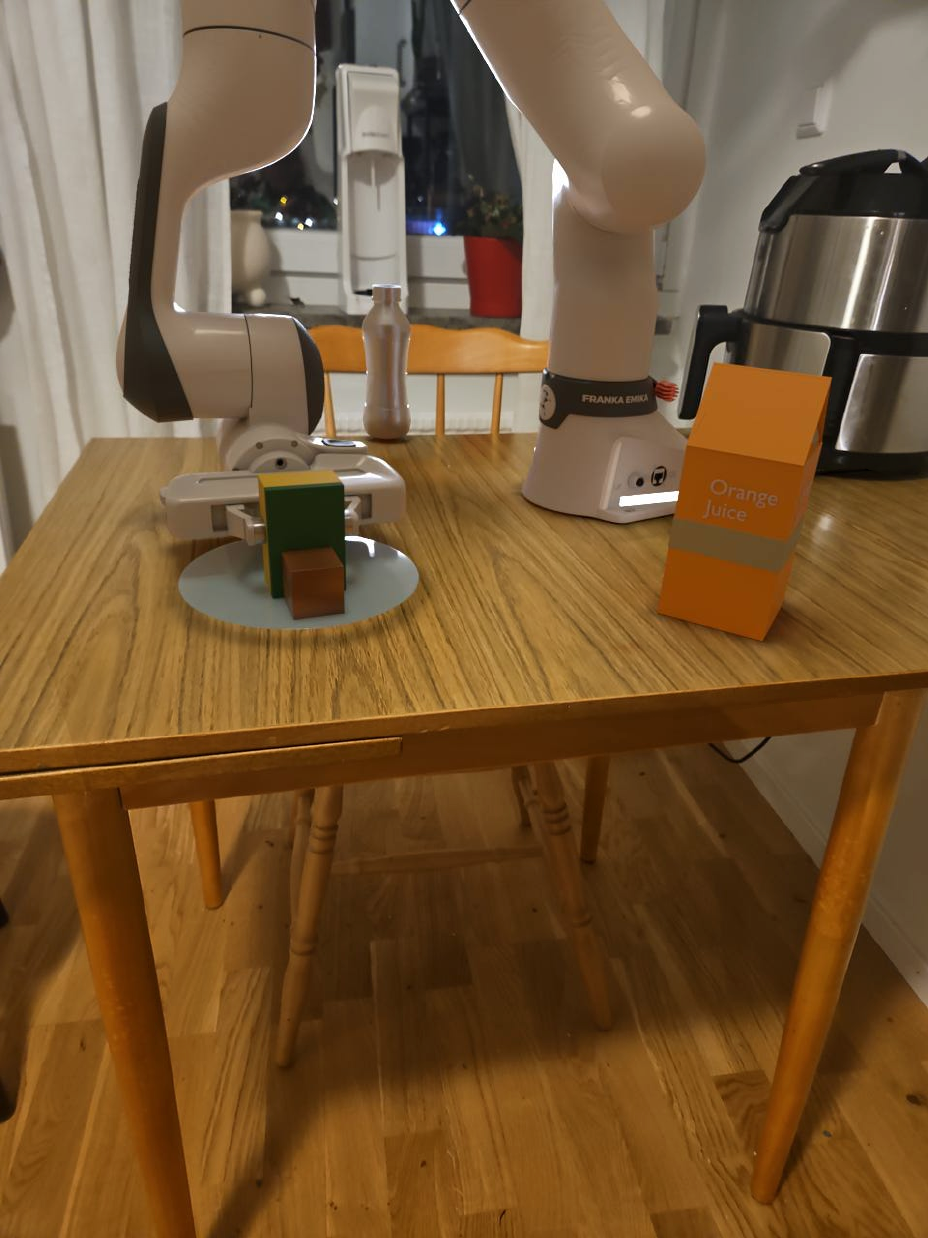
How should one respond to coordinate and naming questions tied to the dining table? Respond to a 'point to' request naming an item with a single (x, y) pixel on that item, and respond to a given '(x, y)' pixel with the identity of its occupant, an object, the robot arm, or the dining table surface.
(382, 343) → the plastic bottle
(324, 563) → the brown cube
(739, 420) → the orange juice
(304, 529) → the sponge
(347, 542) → the plate
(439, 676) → the dining table surface
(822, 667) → the dining table surface
